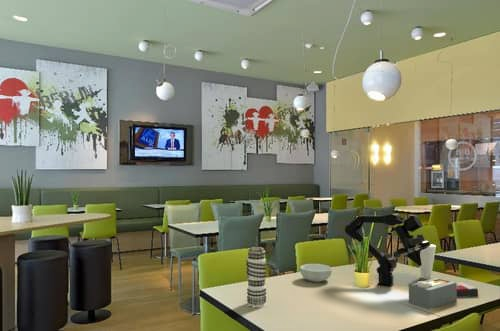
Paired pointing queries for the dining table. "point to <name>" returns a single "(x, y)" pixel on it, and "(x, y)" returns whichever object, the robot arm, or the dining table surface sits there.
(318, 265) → the cereal bowl
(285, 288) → the dining table surface
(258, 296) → the decorative candle
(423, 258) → the cup
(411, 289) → the button console
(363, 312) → the dining table surface
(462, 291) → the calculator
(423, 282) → the grey button
